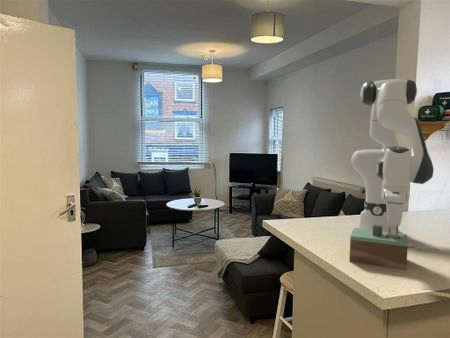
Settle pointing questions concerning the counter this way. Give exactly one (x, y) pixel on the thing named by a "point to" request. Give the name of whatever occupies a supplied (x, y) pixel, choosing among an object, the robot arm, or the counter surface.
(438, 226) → the counter surface
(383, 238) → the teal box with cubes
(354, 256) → the toolbox
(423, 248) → the pliers
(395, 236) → the wooden block
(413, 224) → the counter surface
